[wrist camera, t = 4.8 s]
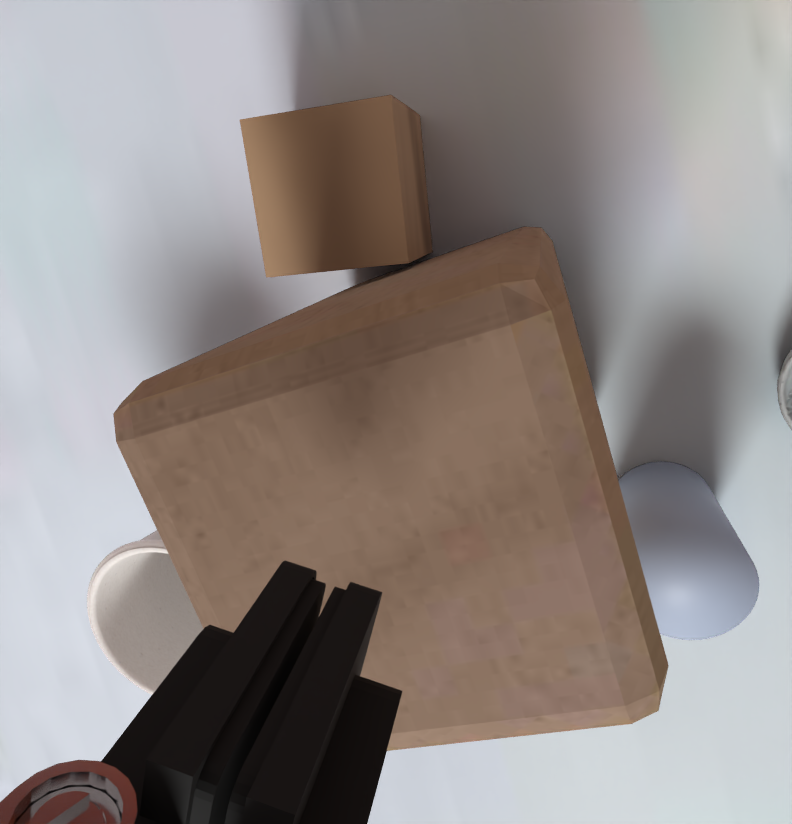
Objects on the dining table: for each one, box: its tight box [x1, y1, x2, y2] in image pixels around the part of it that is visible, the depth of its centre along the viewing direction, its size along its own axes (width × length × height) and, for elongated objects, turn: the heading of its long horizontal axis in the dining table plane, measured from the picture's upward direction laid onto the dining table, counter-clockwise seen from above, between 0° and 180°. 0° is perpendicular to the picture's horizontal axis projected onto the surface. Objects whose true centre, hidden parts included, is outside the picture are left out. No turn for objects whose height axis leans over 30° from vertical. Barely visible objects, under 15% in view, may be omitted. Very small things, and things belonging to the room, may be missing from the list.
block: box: [114, 227, 668, 751], centre depth 22 cm, size 10×10×20 cm
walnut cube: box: [240, 95, 433, 277], centre depth 28 cm, size 6×6×6 cm
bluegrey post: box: [618, 462, 759, 640], centre depth 29 cm, size 5×5×7 cm
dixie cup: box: [87, 530, 203, 695], centre depth 33 cm, size 8×8×10 cm
